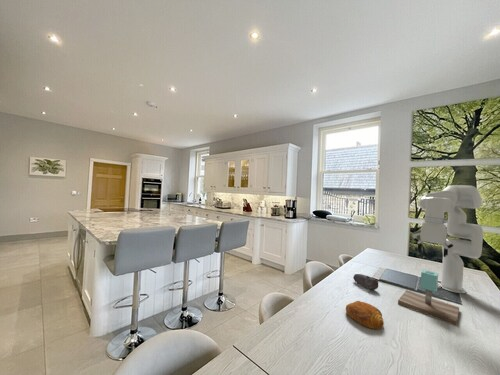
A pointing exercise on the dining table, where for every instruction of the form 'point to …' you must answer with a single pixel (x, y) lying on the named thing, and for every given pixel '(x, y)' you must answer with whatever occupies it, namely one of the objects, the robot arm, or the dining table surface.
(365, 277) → the perforated stone tool
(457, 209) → the robot arm
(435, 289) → the teal block
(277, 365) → the dining table surface
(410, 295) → the stud board
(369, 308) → the croissant
